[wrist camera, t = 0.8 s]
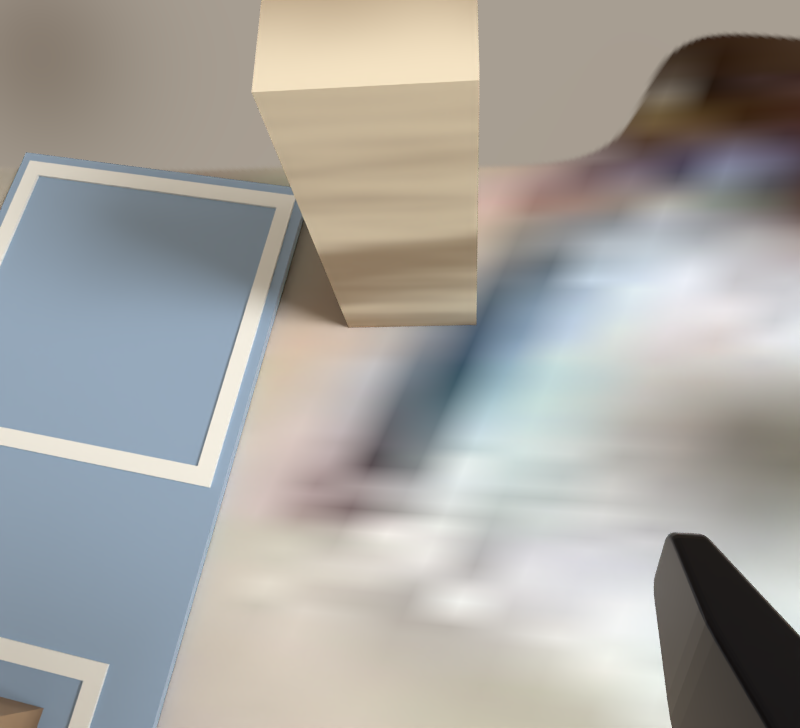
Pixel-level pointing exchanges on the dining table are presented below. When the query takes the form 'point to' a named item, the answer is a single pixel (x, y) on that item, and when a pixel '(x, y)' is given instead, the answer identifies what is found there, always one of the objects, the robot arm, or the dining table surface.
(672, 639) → the robot arm
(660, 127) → the dining table surface
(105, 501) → the blueprint mat
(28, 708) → the walnut cube
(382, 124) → the beech block
